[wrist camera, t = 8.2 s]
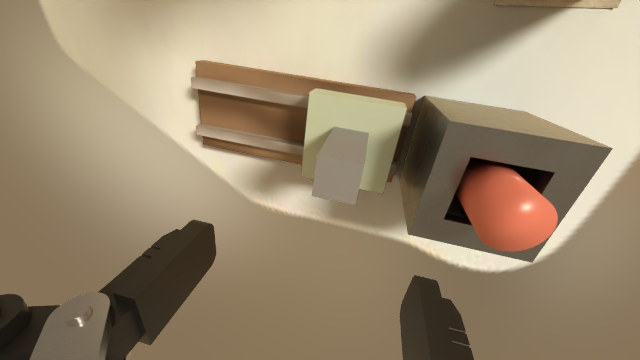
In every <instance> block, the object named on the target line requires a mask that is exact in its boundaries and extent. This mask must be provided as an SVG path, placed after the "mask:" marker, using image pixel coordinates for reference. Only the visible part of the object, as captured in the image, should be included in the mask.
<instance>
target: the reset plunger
mask: <svg viewBox="0 0 640 360" xmlns="http://www.w3.org/2000/svg"><path fill="white" fill-rule="evenodd" d="M455 193H456V195H457V197H458V199H459V201H460V203H461V205H462V206H463V208H464V210H465V212H466V214H467V216H468V218H469V220H470V222H471V223H472V225H473V227H474V229H475V231H476V233H477V235H478V237H479V238H480V240H481V241H482V242H483V243H484V244H486V245H487V246H489V247H491V248H493V249H496V250H500V251H521V250H526V249H529V248H532V247H534V246H537V245H539V244H540V243H542V242H543V241H545V240H546V239H547V238H548V237H549V236H550V235H551V234H552V233H553V231H554V230H555V228H556V225H557V221H558V216H557V212H556V209H555V208H554V206H553V205H552V204H551V203H550V202H549V201H548V200H547V199H546V198H545V197H543V196H542V195H541V194H540V193H539V192H538V191H537V190H536V189H534V188H533V187H532V186H531V185H530V184H529V183H528V182H527V181H525V180H524V179H523V178H522V177H521V176H520V175H519V174H518V173H516V172H515V171H514V170H513V169H512V168H511V167H510V166H509V165H508V164H506V163H501V162H496V161H490V160H485V159H480V158H474V157H470V160H469V162H468V164H467V167H466V169H465V171H464V173H463V176H462V178H461V180H460V183H459V185H458V187H457V190H456V192H455Z"/></svg>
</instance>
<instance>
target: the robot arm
mask: <svg viewBox="0 0 640 360" xmlns="http://www.w3.org/2000/svg"><path fill="white" fill-rule="evenodd" d="M215 256H216V245H215V234H214V226H213V225H212V224H210V223H206V222H201V221H197V220H192V221H190V222H189V223H188V224H187V225H186V226H185V227H183V228H182V229H181V230H178V229H176V230H174V231H172V232H170V233H168V234H166V235H164V236H162V237H161V238H160V239H159V240H158V241H157V242H155V243H154V244H153V245H152V246H151V248H149V249H148V250H146V251H145V252H144V253H143V254H142V256H140V257H138V258H137V259H136V260H135V261H134V262H133V263H131V264H130V265H129V266H128V267H127V268H126V269H125V270H123V271H122V272H121V273H120V274H119V275H118V276H116V277H115V278H114V279H113V280H112V281H111V282H110V283H108V284H107V285H106V286H105V287H104V288H103V289H101V290H100V291H99V292H90V293H85V294H82V295H79V296H76V297H74V298H72V299H70V300H68V301H66V302H64V303H63V304H62V305H58V306H57V305H55V306H32V307H28V306H27V305H26V303H25V302H24V300H23V299H22V297H20V296H18V295H15V294H5V295H0V360H131V350H132V349H133V347H134V346H135V345H136V344H137V342H138V341H139V342H143V343H145V344H148V345H151V344H152V343H153V341H154V340H155V339H156V337H157V336H158V335H159V334H160V332H161V331H162V330H163V328H164V327H165V326H166V324H167V323H168V322H169V321H170V319H171V318H172V317H173V315H174V314H175V313H176V311H177V310H178V309H179V308H180V306H181V305H182V304H183V302H184V301H185V300H186V298H187V297H188V296H189V295H190V293H191V292H192V291H193V289H194V288H195V287H196V285H197V284H198V283H199V282H200V280H201V279H202V277H203V276H204V275H205V274H206V272H207V271H208V270H209V269H210V267H211V266H212V264H213V262H214V260H215ZM400 324H401V339H402V352H403V360H474V359H473V355H472V351H471V348H469V345H470V344H469V341H468V338H467V334H465V328H464V325H463V321H462V318H461V315H460V313H459V312H458V310H457V309H456V307H455V306H454V304H453V303H452V301H451V300H449V299H445V298H442V297H441V293H440V289H439V285H438V282H437V281H436V280H431V279H428V278H424V277H420V276H416V275H415V276H414V277H413V278H412V281H411V283H410V285H409V287H408V290H407V292H406V294H405V296H404V299H403V301H402V304H401V310H400Z"/></svg>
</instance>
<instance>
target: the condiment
mask: <svg viewBox="0 0 640 360" xmlns="http://www.w3.org/2000/svg"><path fill="white" fill-rule="evenodd" d="M620 1H621V0H495V4H494V5H511V6H549V7H584V8H618V6H619V4H620Z"/></svg>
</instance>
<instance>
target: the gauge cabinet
mask: <svg viewBox="0 0 640 360" xmlns="http://www.w3.org/2000/svg"><path fill="white" fill-rule="evenodd" d="M612 149H613V148H611V147H608V146H606V145H603V144H601V143H599V142H596V141H594V140H592V139H589V138H587V137H584V136H582V135H580V134H577V133H575V132H573V131H570V130H568V129H565V128H563V127H561V126H558V125H556V124H553V123H551V122H549V121H546V120H544V119H542V118H539V117H537V116H534V115H532V114H530V113H527V112H523V111H517V110H511V109H505V108H498V107H492V106H486V105H480V104H473V103H467V102H461V101H455V100H448V99H442V98H436V97H430V96H425V97H424V100H423V103H422V107H421V110H420V113H419V116H418V120H417V123H416V126H415V130H414V133H413V136H412V139H411V143H410V146H409V149H408V152H407V156H406V159H405V162H404V165H403V169H402V172H401V175H400V185H401V192H402V198H403V205H404V211H405V218H406V224H407V231H408V234H409V235H413V236H418V237H422V238H426V239H431V240H435V241H440V242H444V243H448V244H453V245H457V246H462V247H466V248H470V249H475V250H479V251H484V252H488V253H493V254H497V255H501V256H506V257H510V258H515V259H519V260H523V261H528V262H533V261H534V259H535V258H536V256H537V255H538V253H539V252H540V251H541V249H542V248H543V246H544V245H545V244H546V242H547V241H548V239H549V238H550V236H551V235H552V234H553V233H552V234H551V235H550V236H549V237H548V238H547V239H546V240H545V241H543V242H542V243H540V244H539V245H537V246H534V247H532V248H529V249H526V250H521V251H500V250H496V249H493V248H491V247H489V246H487V245H486V244H484V243H483V242H482V241H481V240H480V238H479V237H478V235H477V233H476V231H475V229H474V227H473V225H472V223H471V222H470V220H469V218H468V216H467V214H466V212H465V210H464V208H463V206H462V205H461V203H460V201H459V199H458V197H457V195H456V193H455V192H456V190H457V187H458V185H459V183H460V180H461V178H462V176H463V173H464V171H465V169H466V167H467V164H468V162H469V160H470V157H474V158H480V159H485V160H490V161H496V162H501V163H506V164H508V165H509V166H510V167H511V168H512V169H513V170H514V171H515V172H516V173H518V174H519V175H520V176H521V177H522V178H523V179H524V180H525V181H527V182H528V183H529V184H530V185H531V186H532V187H533V188H534V189H536V190H537V191H538V192H539V193H540V194H541V195H542V196H543V197H545V198H546V199H547V200H548V201H549V202H550V203H551V204H552V205H553V206H554V208H555V209H556V212H557V216H558V221H557V225H556V228H557V227H558V225H559V224H560V222H561V221H562V219H563V218H564V217H565V215H566V214H567V212H568V211H569V210H570V208H571V207H572V205H573V204H574V202H575V201H576V200H577V198H578V197H579V195H580V194H581V193H582V191H583V190H584V188H585V187H586V186H587V184H588V183H589V181H590V180H591V178H592V177H593V176H594V174H595V173H596V171H597V170H598V169H599V167H600V166H601V164H602V163H603V161H604V160H605V159H606V157H607V156H608V154H609V153H610V152H611V150H612ZM556 228H555V229H556ZM554 231H555V230H554ZM554 231H553V232H554Z"/></svg>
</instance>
